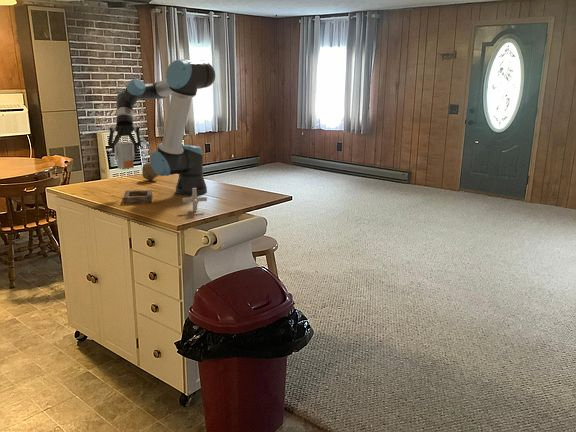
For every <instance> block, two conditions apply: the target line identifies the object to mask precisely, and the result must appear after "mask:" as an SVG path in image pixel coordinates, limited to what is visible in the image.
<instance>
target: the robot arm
mask: <svg viewBox="0 0 576 432" xmlns="http://www.w3.org/2000/svg"><path fill="white" fill-rule="evenodd" d="M165 78H166V79H162V80H159V81H156V82H152V83H151V82H150V83H147V82H145V83H144V81H143V80H141V79H139V78H132V79H131V80H130V82H129V83H127V85H126V87H125V88H124V90H121V91H119V92H117V95H116V120H115V121H116V125H115V127H111V126H110V127H108V128H109V136H108V140H107V145H108V147H109V148H111V151H112V153H113V154H114V160H115V161H116V160H117V148H116V143H119V141H120V140H121V138H122V137H123V136H127V137H128V138H129V139H130V141H131V143H132V157H133V160H135V155H136V153H138V147H141V146H142V143H141V137H140V133H141V132H140V131H141V130H140V127H139V126H137V127H135V126H134V106H135V104H136V103H137V102H138V100H139V101H140V100H155V99H156V100H161V99H166V98H167V97H168V96H170V95H171V96H170V97H171V98H170V101H169V107H168V112H167V117H166V122H165V125H164V126H165V127H164V132H163V136H162V137H163V138H162V141H161V142H160V143H158V145H157V150H155V151H153V152H151V154H150V157H149V162H150V163H151V166H152V169H153V170H154V172H155V173H156V174H158V177H159V176H160V177H165V176H166V177H168V176H171V175H177V174H178V179H177V183H176V185H175V194H178V195H181V196H192V188H197V196H198V195H204V194H206V193H207V192H208V187H207V184H206V182H205V178H204V166H203V165H204V163H203V162H204V161H203V160H204V159H203V156H204V154H203V149H202V147H201V146H199V145H191V144H190V145H189V144H183V139H184V135H185V130H186V125H187V121H188V116H189V112H190V109H191V108H190V107H191V103H192V98H194V97H196V95H197V92H198V89H199V90H200V89H204V88H208V87H211V86H212V85H213V83H214V81H215V79H216V71H215V68H214V67H213V65H211V63H210V62H207V61H205V60H194V59H193V60H192V59H176V60H173V61H171V62H170V64H168V66H167V68H166V72H165ZM115 132H116V133H117V134H116V136H114V134H115ZM133 132H135V133H136V139H137V140H136V139H135V138H134V136H133V134H132V133H133ZM114 137H115V138H114Z"/></svg>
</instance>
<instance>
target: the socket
mask: <svg viewBox="0 0 576 432" xmlns="http://www.w3.org/2000/svg"><path fill="white" fill-rule="evenodd" d="M122 199H123V205H139V203H145V204H152V203H153V190H152V189H141V190H140V189H138V190H132V189H131V190H125V191H124V194H123V197H122Z"/></svg>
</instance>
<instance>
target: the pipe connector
mask: <svg viewBox="0 0 576 432" xmlns="http://www.w3.org/2000/svg"><path fill="white" fill-rule="evenodd" d="M190 196H191V197H183V198H182V203H192V212H193V211H196V210H197V211H198V204H199V202H207V201H208V200H207V199H208V197H207V196H201V197H199V196H198V195H197V188H192V195H190Z"/></svg>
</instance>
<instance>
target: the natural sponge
mask: <svg viewBox="0 0 576 432" xmlns="http://www.w3.org/2000/svg"><path fill="white" fill-rule="evenodd" d="M141 170H142V173H141V174H142V177H143V178H144V180H147V181H153V180H154V179H156V178H157V177H159V175H158V174H156V173H155V172H154V170H153V169H152V166H151V163H150V161H149V162H146V163H144V164H143V166H142V169H141Z"/></svg>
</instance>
